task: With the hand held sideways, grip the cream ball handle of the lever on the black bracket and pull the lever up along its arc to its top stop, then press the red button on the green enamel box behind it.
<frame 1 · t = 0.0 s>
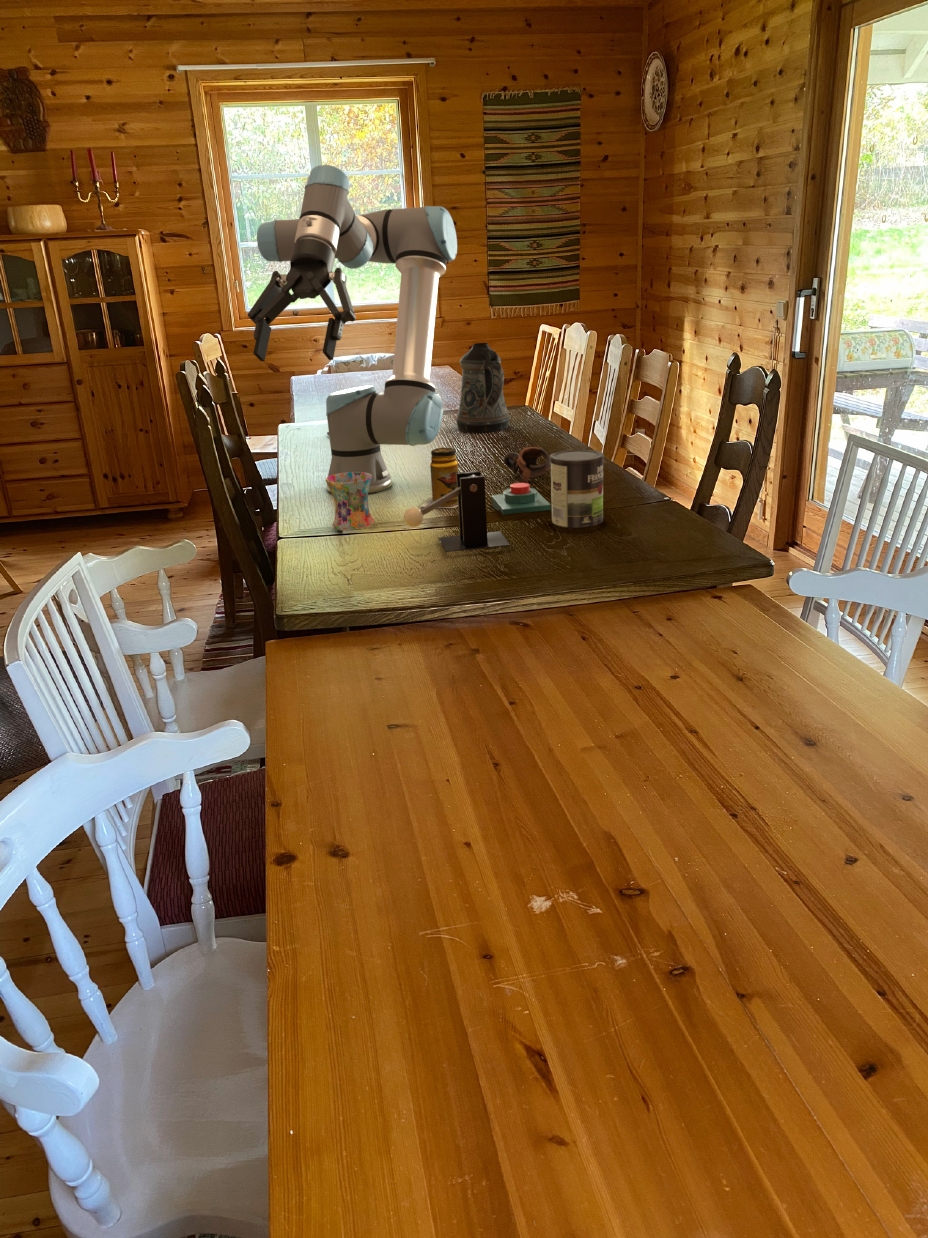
hand: (292, 356, 160), 36 cm above the table, tool tilted 35°, fingers open, 13 cm apart
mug: (355, 527, 189), on the table
bracket: (473, 547, 171), on the table
condiment: (443, 504, 201), on the table
pottery mug: (528, 478, 219), on the table
button box: (520, 509, 193), on the table
lever: (441, 501, 167), point 9 cm above the table, hinge at -25.0°
coffee can: (577, 526, 181), on the table
grey ceramic pitcher: (487, 428, 281), on the table
button: (520, 489, 191), point 4 cm above the table, slide at 0.1 cm
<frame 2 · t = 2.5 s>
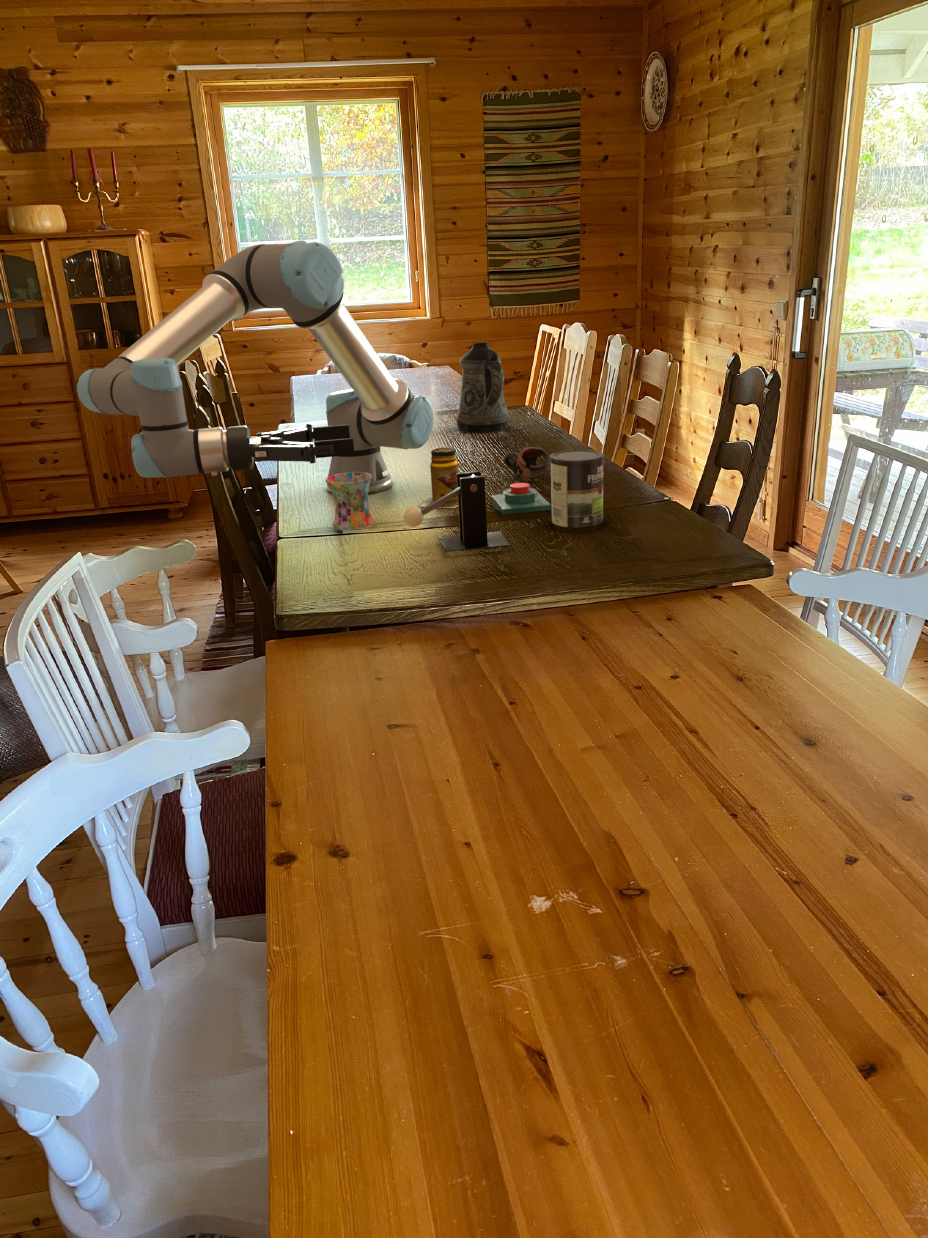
hand: (351, 438, 160), 22 cm above the table, tool horizontal, fingers open, 13 cm apart
nothing on the table moved.
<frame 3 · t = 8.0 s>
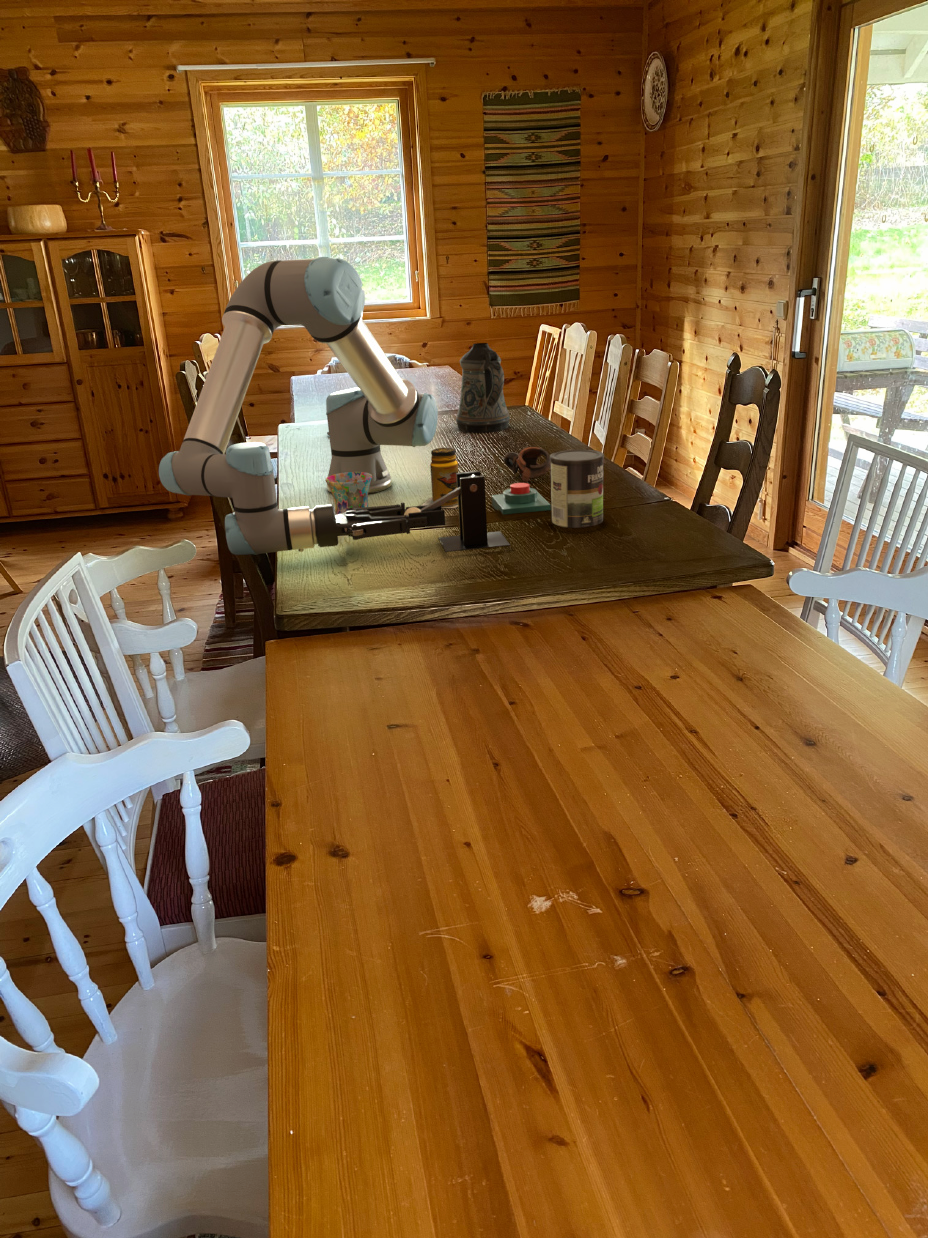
hand: (442, 514, 168), 7 cm above the table, tool horizontal, fingers closed on lever, 4 cm apart
lever: (441, 501, 167), point 9 cm above the table, hinge at -25.0°, touching gripper
everything else where it was.
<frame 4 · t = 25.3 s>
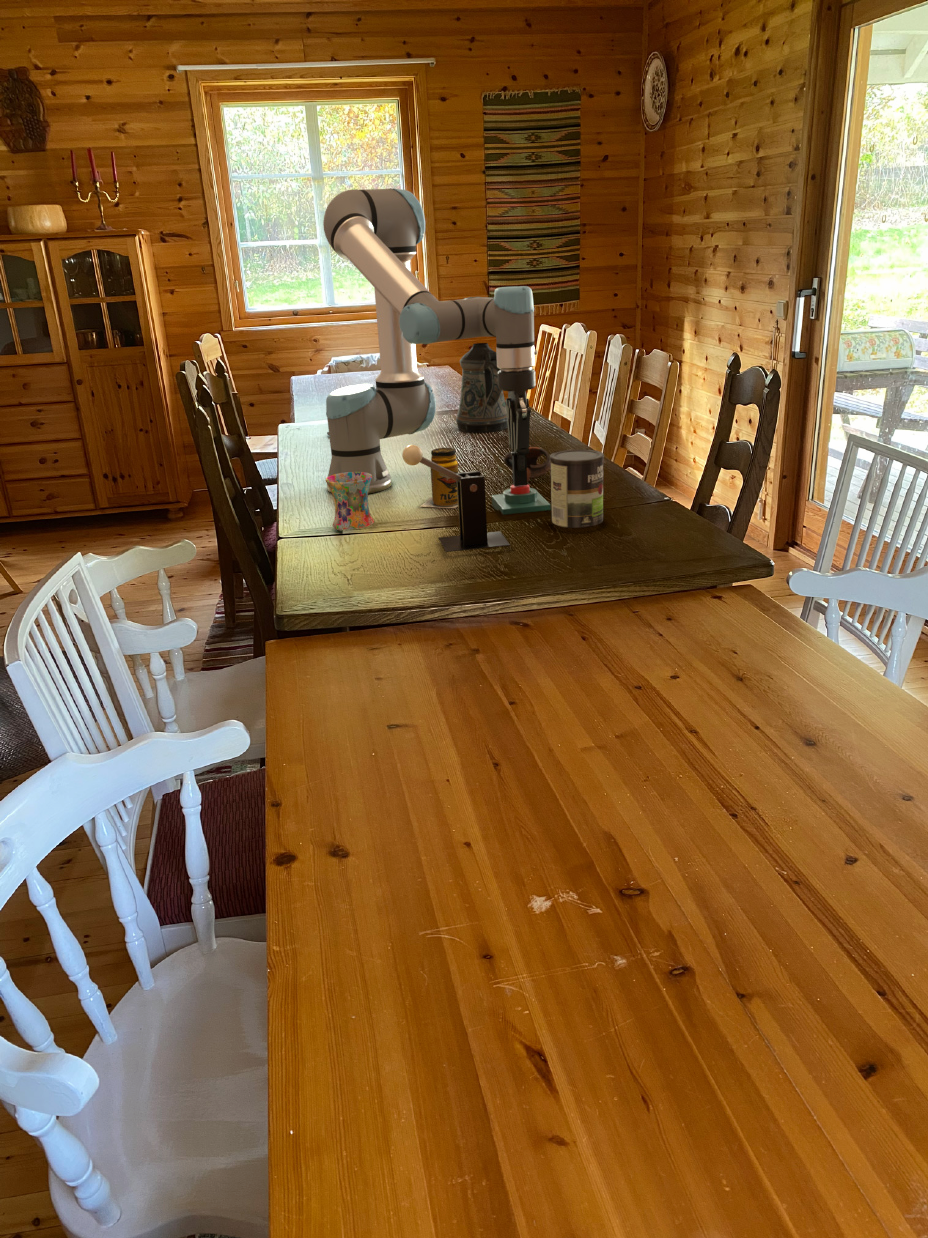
hand: (520, 484, 191), 5 cm above the table, tool pointing down, fingers closed
lever: (440, 469, 165), point 15 cm above the table, hinge at 31.6°
button: (520, 489, 192), point 4 cm above the table, slide at -0.1 cm, touching gripper
everything else where it was.
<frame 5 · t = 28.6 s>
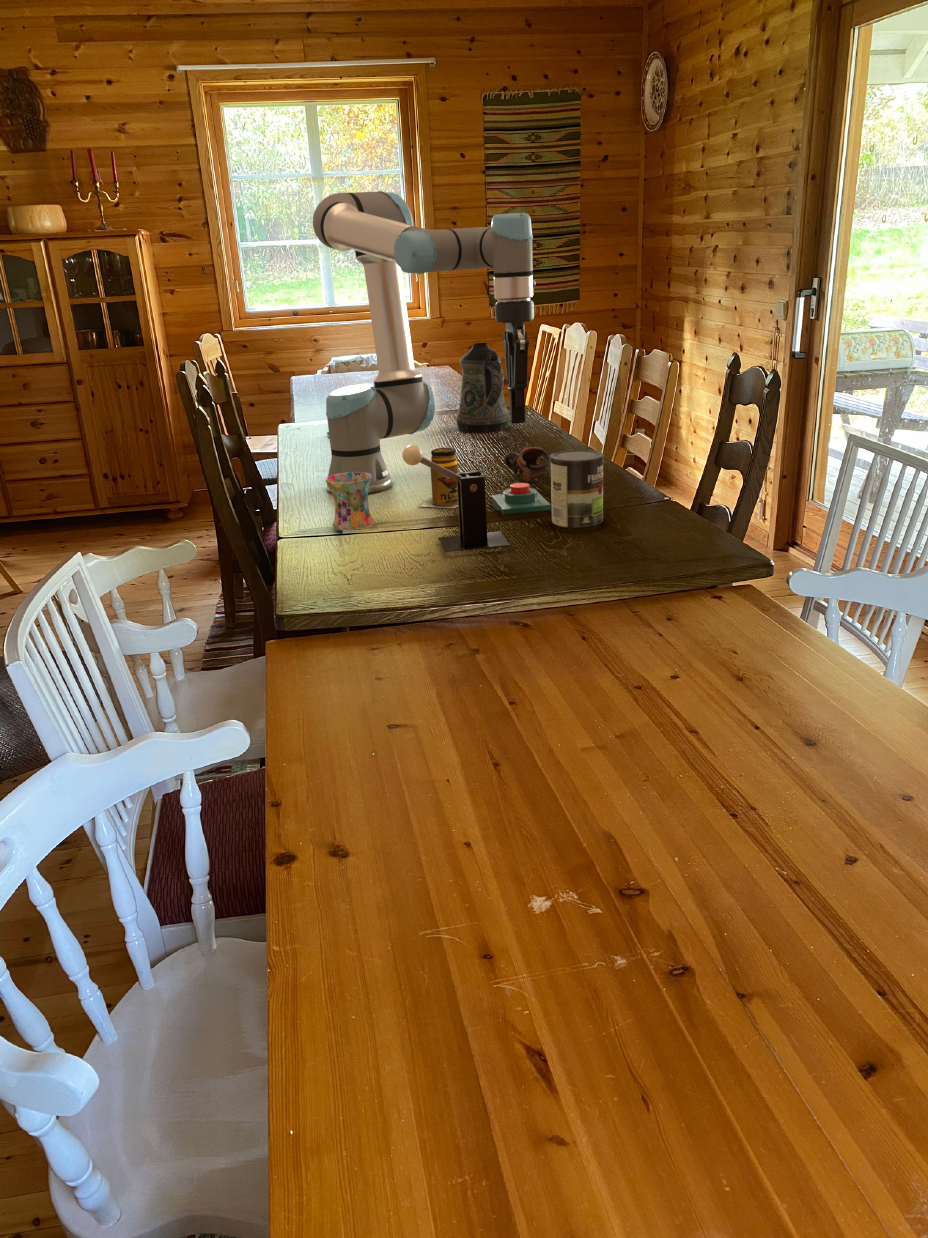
hand: (517, 422, 186), 18 cm above the table, tool pointing down, fingers closed
button: (520, 489, 191), point 4 cm above the table, slide at 0.1 cm
everything else where it was.
at the end: lever reached +34° during the clip, +32° at the end; lever at +32° (first picture: -25°); button pushed in 1.0 cm at the most during the clip, back to where it started at the end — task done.
